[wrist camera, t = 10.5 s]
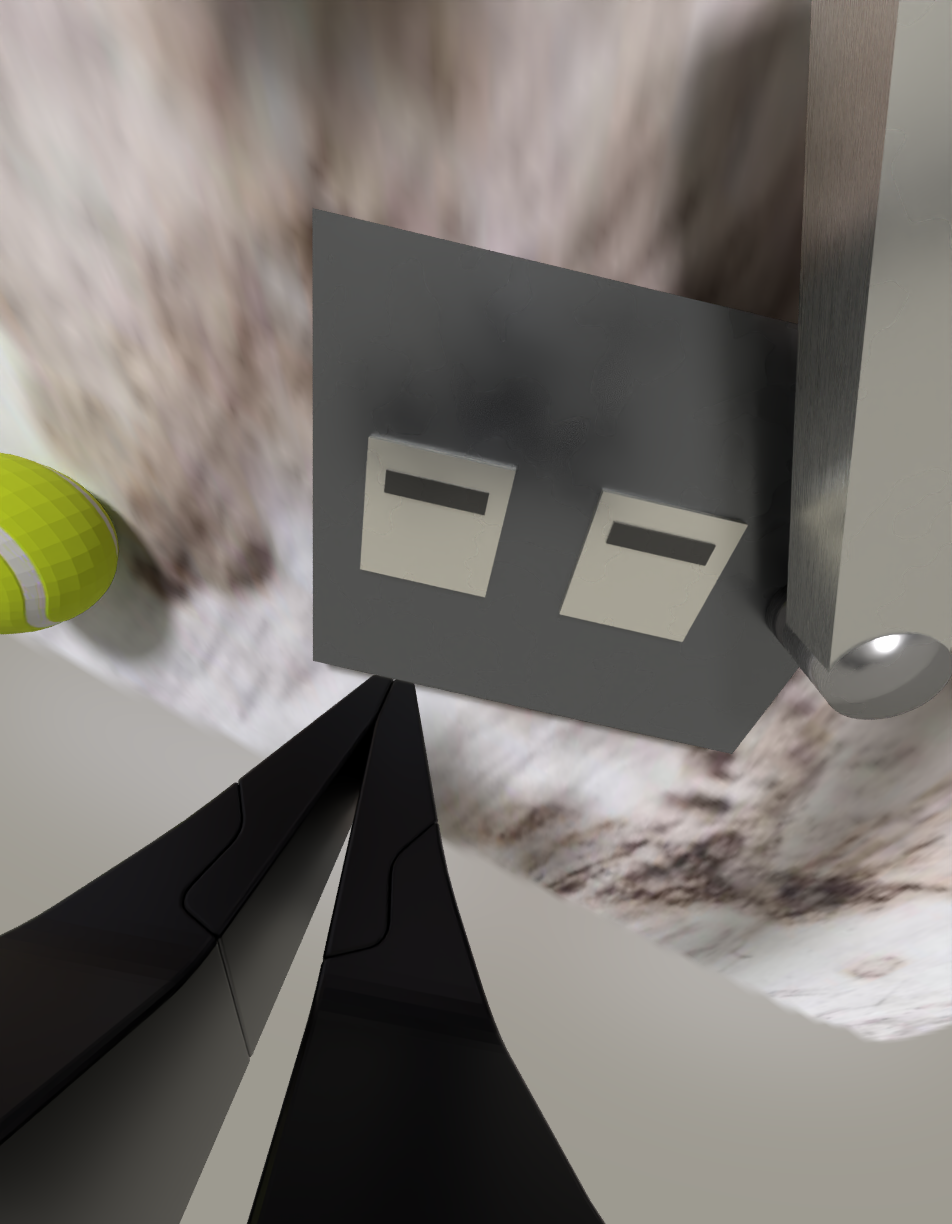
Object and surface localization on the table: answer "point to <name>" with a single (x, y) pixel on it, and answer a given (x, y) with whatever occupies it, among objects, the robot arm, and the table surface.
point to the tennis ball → (50, 547)
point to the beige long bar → (874, 361)
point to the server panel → (548, 485)
